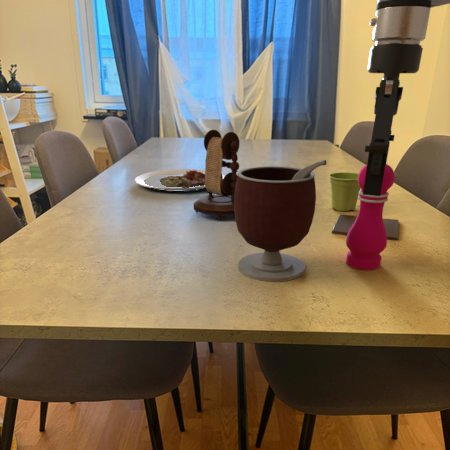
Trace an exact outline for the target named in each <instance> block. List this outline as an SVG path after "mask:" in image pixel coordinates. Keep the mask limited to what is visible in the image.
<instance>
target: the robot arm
mask: <svg viewBox="0 0 450 450" xmlns="http://www.w3.org/2000/svg"><path fill="white" fill-rule="evenodd" d="M449 4H450V0H376V8H375V18H371V19H370V21H369V25H370V26H371V27H373V30H372V38H371V40H372V42H373V43H375V45H372V46H371V48H370V49H369V55H368V63H367V72H368V73H369V74H383V77H382V79H381V80H380V82H379V86H376V88H375V94H374V100H375V101H374V106H373V107H374V108H373V114H374V115H375V116H374V121H373V128H372V133H371V139H370V143H369V145H365V147H364V153H368V156H367V164H366V165H367V169H366V175H365V182H364V189H363V195H373V196H380V195H381V189H382V183H383V177H384V171H385V165H386V164H387V161H388V156H389V149H390V143H391V142H395V141H394V140H395V134H392V127H393V121H394V120H393V119H394V116H396V115H397V114H398V110H399V104H400V101H401V100H402V97H403V91H404V87H403V86H400V84H401V82H400V75H401V74H416V73H418V72H419V70H420V67H421V65H420V64H421V60H422V57H423V56H422V54H423V51H424V50H423V49H424V47H422V46H423V45H421V42H423V41H424V40H425V39H426V37H427V30H428V25H429V19H430V14H431V10H432V9H431V8H435V7H442V6H445V5H449Z"/></svg>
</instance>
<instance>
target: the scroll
mask: <svg viewBox="0 0 450 450" xmlns="http://www.w3.org/2000/svg"><path fill="white" fill-rule="evenodd" d="M240 143H241V141H240V138H239V136H238V134H237V133H235V132H234V131H228V132H227V133H225V134H224V135H223V136H222V135H221V133H220V131H218V130H216V129H209V131H207V132H206V134H205V136H204V138H203V147H204V150H205V151H206V153H205V154H206V155H205V167H204V170H205V186H206V189H205V190H206V191H207V195H205V196H202V197H199V198H198V199H197V200H194V201H193V210H194V211H195V213H200V214H203V215H207V216H208V215H209V216H217V220H218V221H222V219H223V216H235V213H234V193H235V187H236V181H237V177H238V172H239V169H240V163H239V162H238V160H239V159H238V153H239V149H240ZM230 161H231V162H230ZM223 168H227V169H230V171H231V172H228V173H226V174H225V177H224V179H223V177H222V174H223V173H222V172H223Z"/></svg>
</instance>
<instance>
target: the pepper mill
mask: <svg viewBox="0 0 450 450" xmlns="http://www.w3.org/2000/svg"><path fill="white" fill-rule="evenodd" d="M366 169H367V164H364V166H363V167H362V168H360V170H359V173H358V174H359V175H358V184H359V186H360V187H361V189H360V191H359V196H358V200H359V210H358V214H357V215H356V216H357V219H356V220H355V222H354V224H353V225H352V227H351V228H350V230H349V232H348V234H347V235H346V238H345V245H346V247H347V248H348V250H349V251H347V253H346V257H345V263H346V265H348V266H349V267H350V268H353V269H356V270H357V269H358V270H364V271H365V270H366V271H370V270H371V271H372V270H376V269H378V268H379V267H380V266H381V264H382V259H383V258H382V255H381V253H382V252H383V251H384V250H385V249H386V248H387V244H388V239H387V234H386V230H385V227H384V223H383V218H384V217H383V215H384V214H383V212H384V206H385V203H386V202H388V200H389V198H388V196H389V195H390V193H389V192H388V191H389V189H391V188H392V187H393V185H394V183H395V172H394V169H393V168H392V166H390V165H389V164H388V163H386V165H385V171H384V177H383V183H382V189H381V195H380V196H373V195H363V189H364V182H365V175H366Z"/></svg>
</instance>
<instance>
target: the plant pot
mask: <svg viewBox="0 0 450 450" xmlns="http://www.w3.org/2000/svg"><path fill="white" fill-rule="evenodd" d="M358 175H359V173H358V172H349V171H340V172H339V171H338V172H331V173H329V174H328V178H329V182H330V192H331V193H330V194H331V197H330V198H331V209H333V210H334V209H335V211H340V212H349V211H354V210H355V209H356V208H357V207H356V206H357V203H358V200H359V199H358V196H359V191H360V190H361V187H360V186H359V184H358Z"/></svg>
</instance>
